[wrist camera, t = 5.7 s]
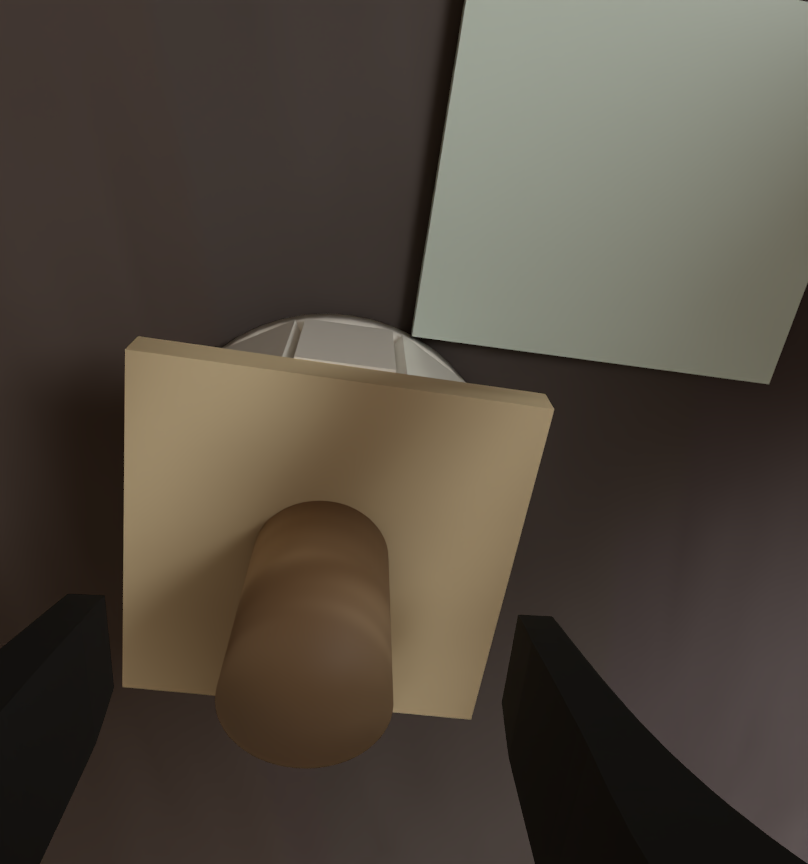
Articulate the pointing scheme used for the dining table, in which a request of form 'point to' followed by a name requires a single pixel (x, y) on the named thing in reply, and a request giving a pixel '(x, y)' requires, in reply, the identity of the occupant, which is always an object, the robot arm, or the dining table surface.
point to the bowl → (346, 345)
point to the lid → (317, 540)
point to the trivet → (623, 183)
